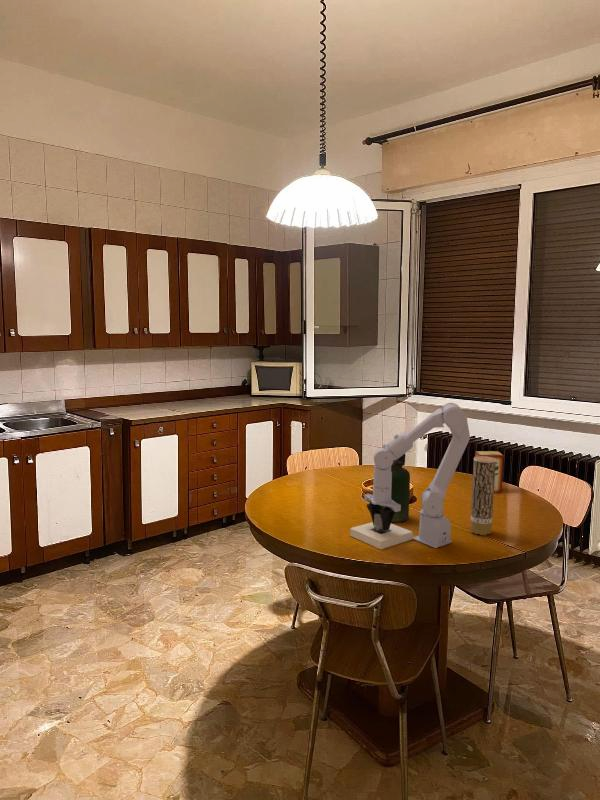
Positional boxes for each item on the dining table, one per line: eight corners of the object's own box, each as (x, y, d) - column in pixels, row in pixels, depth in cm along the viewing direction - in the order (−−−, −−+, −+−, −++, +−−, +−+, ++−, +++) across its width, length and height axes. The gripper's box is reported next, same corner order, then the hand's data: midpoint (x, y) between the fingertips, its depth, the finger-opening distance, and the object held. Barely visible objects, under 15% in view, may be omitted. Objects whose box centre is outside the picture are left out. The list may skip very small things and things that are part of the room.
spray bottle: (375, 513, 217) (377, 445, 214) (404, 512, 218) (406, 444, 215) (382, 523, 207) (384, 452, 204) (412, 522, 208) (414, 451, 204)
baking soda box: (477, 492, 243) (479, 454, 241) (473, 488, 250) (475, 450, 247) (501, 493, 243) (503, 454, 241) (496, 488, 249) (498, 450, 247)
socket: (412, 539, 193) (412, 531, 192) (380, 549, 184) (380, 541, 184) (381, 526, 204) (381, 519, 203) (350, 535, 195) (350, 528, 195)
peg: (388, 534, 194) (389, 513, 193) (381, 537, 191) (382, 516, 190) (378, 531, 196) (379, 510, 195) (371, 534, 193) (371, 513, 192)
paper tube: (467, 528, 203) (471, 455, 199) (488, 529, 202) (492, 456, 199) (473, 536, 196) (476, 460, 192) (494, 536, 196) (498, 461, 192)
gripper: (357, 483, 195) (356, 523, 197) (389, 494, 183) (388, 536, 185) (373, 479, 199) (372, 519, 201) (406, 490, 188) (404, 531, 189)
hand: (381, 527), depth 193 cm, fingers closed on peg, 4 cm apart
